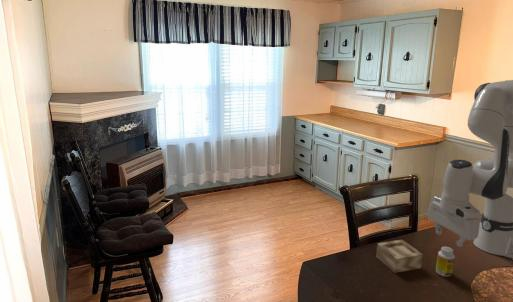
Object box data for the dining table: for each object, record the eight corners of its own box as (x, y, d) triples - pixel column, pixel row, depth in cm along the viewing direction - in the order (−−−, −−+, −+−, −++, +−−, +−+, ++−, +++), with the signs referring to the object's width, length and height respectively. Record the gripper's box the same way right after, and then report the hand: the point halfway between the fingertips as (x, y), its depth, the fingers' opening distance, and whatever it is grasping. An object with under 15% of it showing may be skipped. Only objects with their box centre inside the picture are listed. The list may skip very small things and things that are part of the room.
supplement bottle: (446, 279, 131) (450, 254, 128) (432, 271, 135) (436, 247, 133) (454, 274, 134) (458, 250, 131) (440, 267, 138) (444, 243, 136)
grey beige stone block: (400, 252, 149) (402, 239, 147) (420, 268, 137) (422, 254, 136) (375, 256, 145) (377, 243, 144) (394, 272, 134) (396, 258, 133)
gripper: (425, 195, 136) (421, 228, 140) (470, 216, 117) (464, 254, 120) (439, 194, 138) (434, 226, 141) (485, 214, 119) (478, 251, 122)
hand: (448, 239), depth 131 cm, fingers open, 8 cm apart
